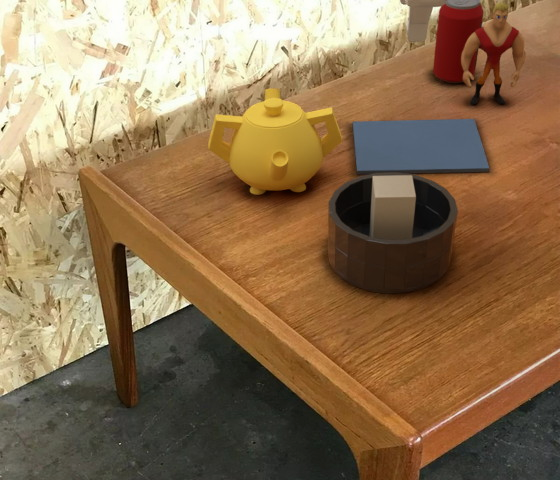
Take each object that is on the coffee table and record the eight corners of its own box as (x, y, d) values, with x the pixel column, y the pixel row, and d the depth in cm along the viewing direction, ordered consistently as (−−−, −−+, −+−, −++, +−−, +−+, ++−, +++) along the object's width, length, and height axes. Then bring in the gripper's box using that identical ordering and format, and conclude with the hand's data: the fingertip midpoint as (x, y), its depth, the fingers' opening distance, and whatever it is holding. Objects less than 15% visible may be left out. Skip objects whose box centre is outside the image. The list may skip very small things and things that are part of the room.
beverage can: (482, 75, 129) (494, -2, 121) (458, 89, 126) (468, 11, 117) (448, 63, 133) (456, -12, 124) (423, 77, 129) (431, 1, 121)
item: (406, 240, 97) (412, 175, 91) (409, 262, 94) (416, 196, 87) (369, 240, 97) (372, 175, 91) (371, 263, 94) (375, 197, 88)
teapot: (350, 215, 102) (352, 135, 94) (211, 223, 102) (202, 144, 94) (333, 138, 116) (334, 63, 108) (212, 145, 116) (204, 71, 108)
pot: (442, 219, 101) (448, 171, 96) (457, 292, 90) (465, 242, 85) (327, 221, 101) (327, 173, 96) (329, 294, 91) (330, 244, 86)
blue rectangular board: (473, 122, 118) (474, 118, 118) (489, 172, 108) (489, 168, 108) (352, 125, 119) (352, 121, 119) (356, 174, 109) (357, 170, 109)
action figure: (457, 107, 122) (470, 6, 111) (454, 96, 124) (467, -4, 114) (519, 106, 121) (538, 5, 110) (516, 95, 124) (534, -5, 113)
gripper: (479, -108, 63) (456, 63, 73) (448, -167, 77) (432, -17, 87) (399, -106, 63) (387, 64, 73) (383, -165, 77) (374, -16, 87)
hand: (411, 19), depth 80 cm, fingers open, 8 cm apart
